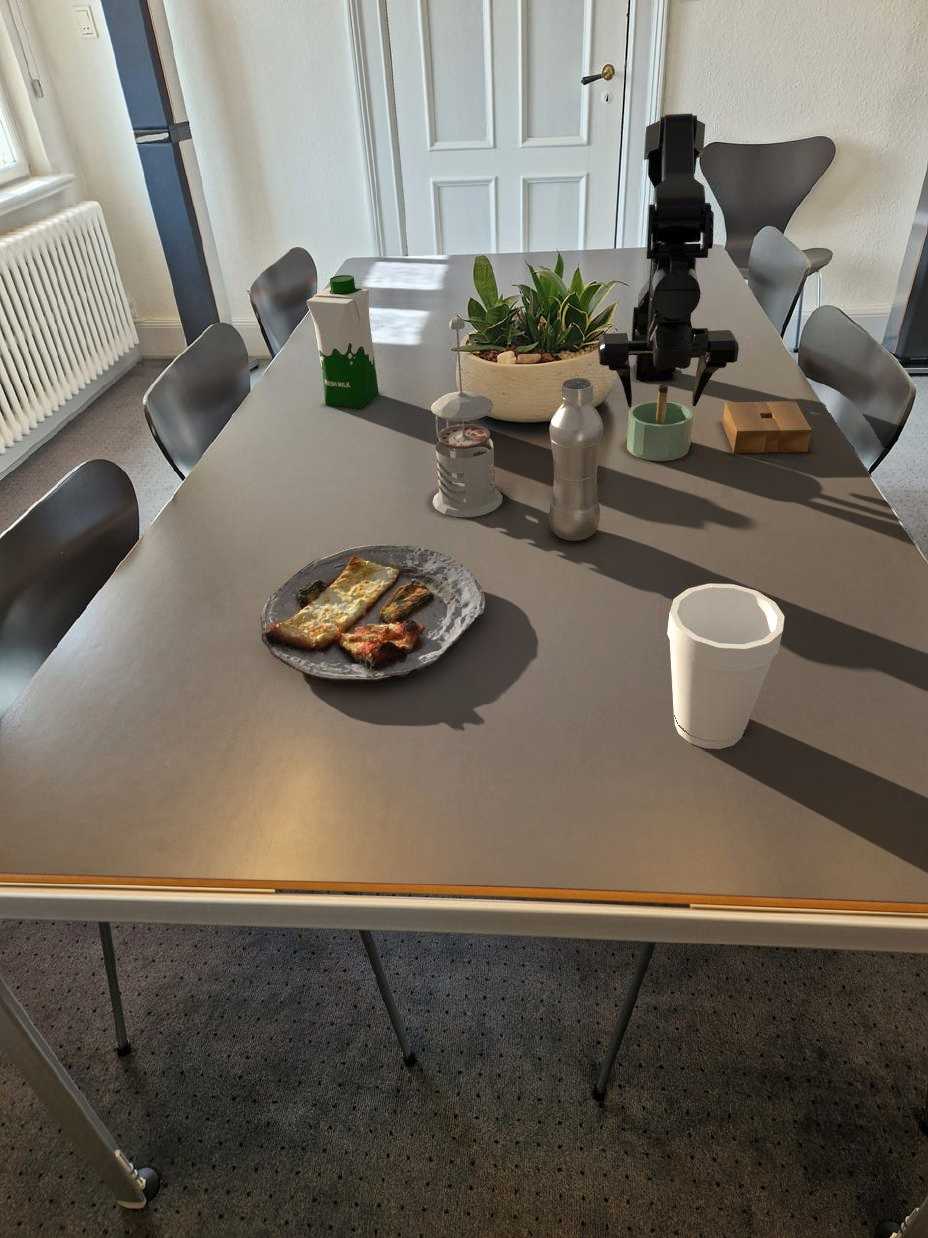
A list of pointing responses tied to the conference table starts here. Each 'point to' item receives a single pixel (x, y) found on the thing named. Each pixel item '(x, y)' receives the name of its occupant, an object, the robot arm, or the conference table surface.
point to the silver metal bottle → (575, 462)
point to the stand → (766, 427)
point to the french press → (464, 452)
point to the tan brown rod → (661, 404)
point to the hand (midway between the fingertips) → (661, 405)
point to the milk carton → (345, 343)
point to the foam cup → (720, 659)
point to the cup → (659, 431)
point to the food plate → (370, 613)
